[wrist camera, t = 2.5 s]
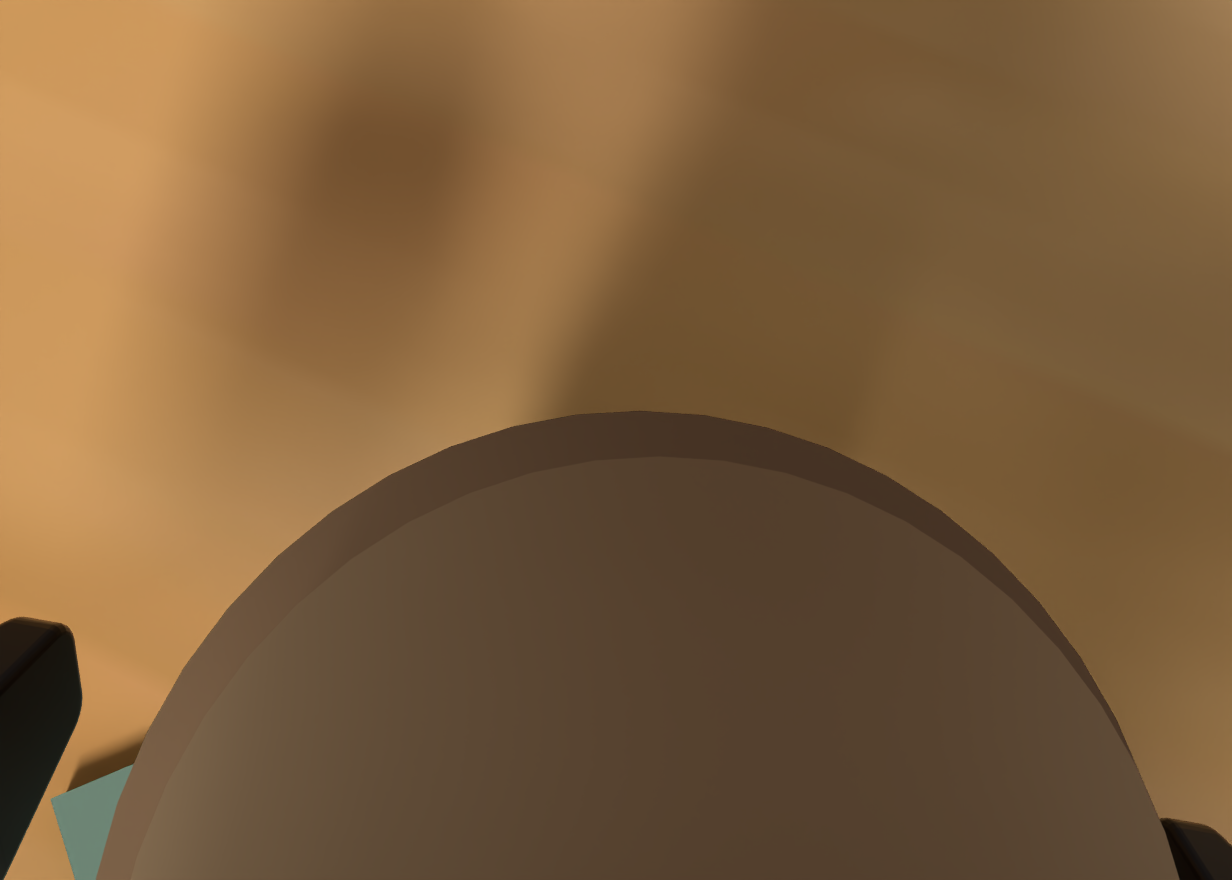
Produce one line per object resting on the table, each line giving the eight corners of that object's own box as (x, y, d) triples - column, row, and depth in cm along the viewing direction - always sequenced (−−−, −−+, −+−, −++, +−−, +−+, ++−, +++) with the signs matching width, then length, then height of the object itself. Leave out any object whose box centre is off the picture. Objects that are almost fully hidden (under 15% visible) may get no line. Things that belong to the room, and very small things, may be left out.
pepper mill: (482, 999, 15) (248, 2193, 3) (362, 674, 16) (-180, 639, 4) (791, 852, 15) (1557, 1367, 4) (660, 548, 16) (949, 204, 5)
